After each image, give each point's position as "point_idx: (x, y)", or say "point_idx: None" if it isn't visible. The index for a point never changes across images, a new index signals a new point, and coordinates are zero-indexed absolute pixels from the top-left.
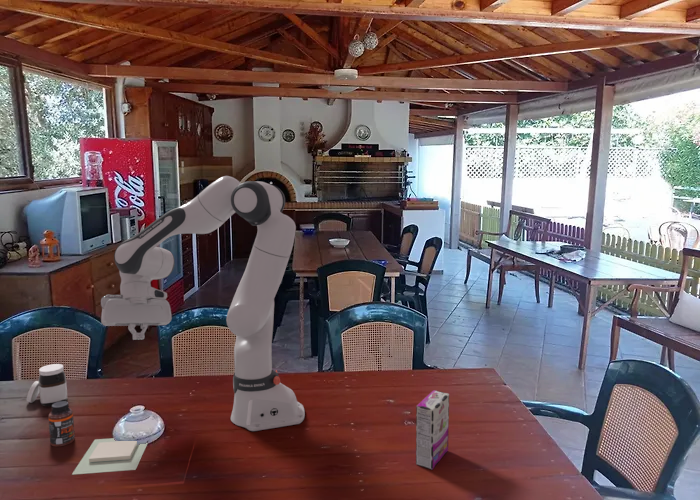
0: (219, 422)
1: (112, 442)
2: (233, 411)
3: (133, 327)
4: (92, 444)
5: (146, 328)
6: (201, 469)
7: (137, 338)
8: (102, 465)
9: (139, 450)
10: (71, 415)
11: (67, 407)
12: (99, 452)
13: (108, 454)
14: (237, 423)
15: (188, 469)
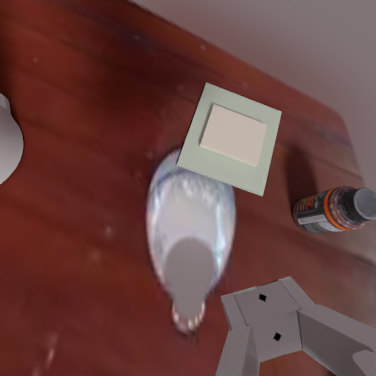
0: (47, 161)
1: (238, 155)
2: (5, 142)
3: (366, 341)
4: (264, 180)
5: (220, 374)
6: (124, 46)
7: (269, 283)
8: (247, 113)
9: (198, 126)
10: (327, 197)
11: (347, 197)
12: (254, 134)
13: (242, 122)
14: (17, 128)
15: (140, 54)
